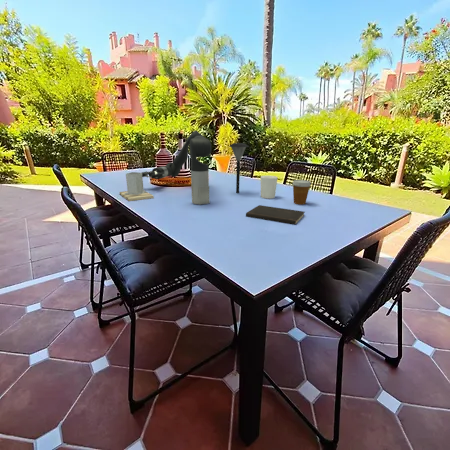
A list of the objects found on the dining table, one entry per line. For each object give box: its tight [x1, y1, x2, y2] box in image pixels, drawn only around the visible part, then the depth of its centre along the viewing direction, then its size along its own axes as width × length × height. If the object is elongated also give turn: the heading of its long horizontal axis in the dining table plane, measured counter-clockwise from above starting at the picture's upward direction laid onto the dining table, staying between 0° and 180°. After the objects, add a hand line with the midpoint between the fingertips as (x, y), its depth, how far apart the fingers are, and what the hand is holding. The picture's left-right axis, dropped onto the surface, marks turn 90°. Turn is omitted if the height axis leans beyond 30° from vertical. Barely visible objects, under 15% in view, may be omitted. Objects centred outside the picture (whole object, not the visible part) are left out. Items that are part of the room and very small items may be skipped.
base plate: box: [119, 190, 155, 202], centre depth 159 cm, size 20×14×6 cm
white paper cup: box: [260, 175, 278, 200], centre depth 159 cm, size 10×10×12 cm
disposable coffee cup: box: [292, 179, 312, 206], centre depth 146 cm, size 10×10×12 cm
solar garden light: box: [228, 142, 250, 194], centre depth 165 cm, size 12×12×30 cm
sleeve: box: [125, 171, 148, 196], centre depth 157 cm, size 9×9×12 cm
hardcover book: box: [245, 204, 306, 226], centre depth 125 cm, size 16×23×2 cm
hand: (145, 176), depth 166 cm, fingers open, 8 cm apart
